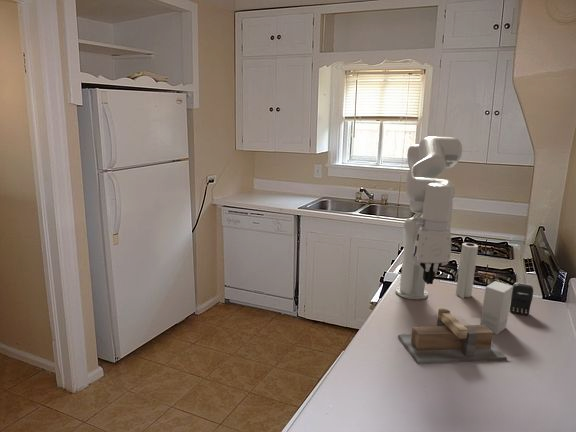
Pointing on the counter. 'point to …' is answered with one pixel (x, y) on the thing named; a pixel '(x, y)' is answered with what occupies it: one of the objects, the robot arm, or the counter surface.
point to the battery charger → (521, 298)
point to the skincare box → (496, 306)
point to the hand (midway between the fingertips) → (428, 282)
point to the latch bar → (452, 323)
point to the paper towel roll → (466, 269)
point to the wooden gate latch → (451, 344)
